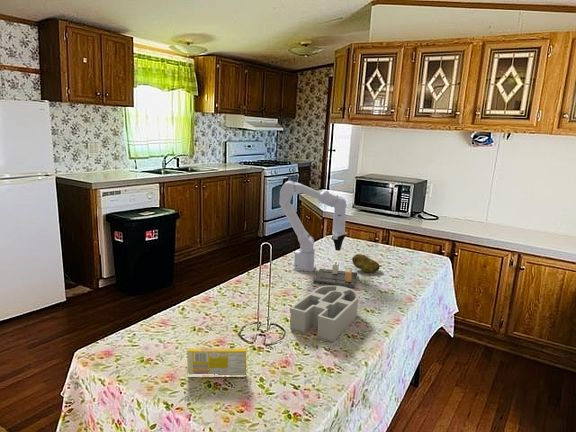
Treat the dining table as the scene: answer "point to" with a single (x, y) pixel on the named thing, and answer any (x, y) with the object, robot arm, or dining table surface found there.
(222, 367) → the candy box
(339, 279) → the console
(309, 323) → the grey compartment organizer
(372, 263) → the potato
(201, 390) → the dining table surface
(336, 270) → the fader far
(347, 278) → the fader near
